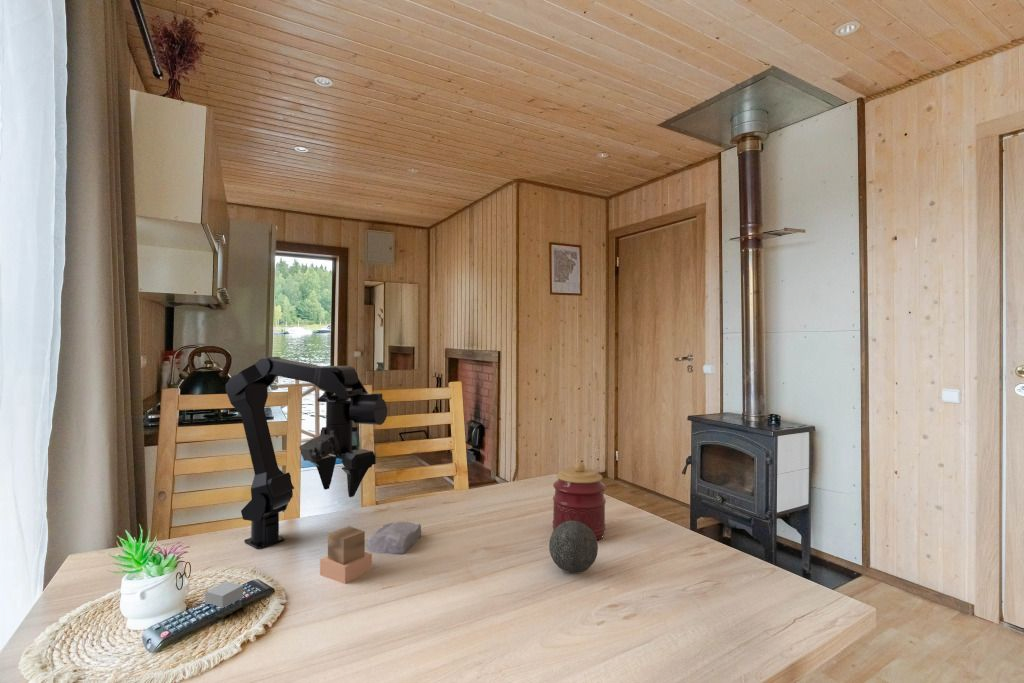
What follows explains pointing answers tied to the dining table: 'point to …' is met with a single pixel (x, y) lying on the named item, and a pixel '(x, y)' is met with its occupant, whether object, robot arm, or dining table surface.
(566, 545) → the decorative ball
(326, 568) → the terracotta block
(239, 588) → the grey block
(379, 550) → the stone block
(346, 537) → the walnut cube
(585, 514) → the canister
